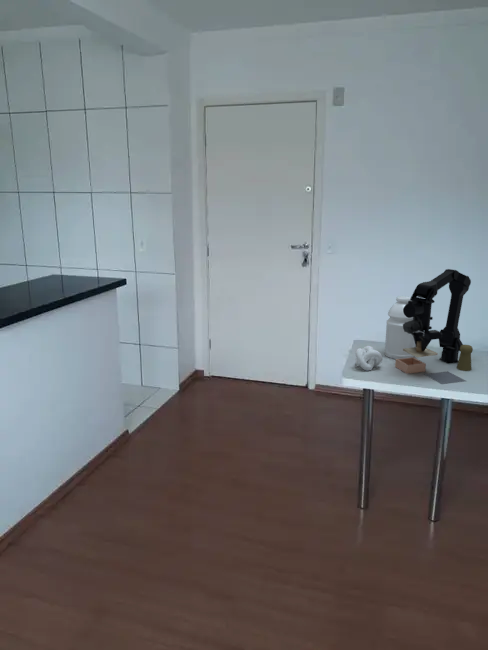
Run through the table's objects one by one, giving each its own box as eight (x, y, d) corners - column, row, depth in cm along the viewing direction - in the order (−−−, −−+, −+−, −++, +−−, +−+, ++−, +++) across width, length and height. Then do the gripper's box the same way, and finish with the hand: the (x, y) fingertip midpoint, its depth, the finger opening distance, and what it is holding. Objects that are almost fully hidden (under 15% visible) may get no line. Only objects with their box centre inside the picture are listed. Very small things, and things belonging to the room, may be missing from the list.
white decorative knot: (370, 374, 221) (372, 354, 219) (346, 368, 229) (347, 348, 227) (384, 368, 229) (385, 348, 226) (360, 362, 237) (361, 343, 234)
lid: (422, 348, 227) (423, 337, 226) (437, 355, 218) (438, 344, 217) (402, 350, 224) (403, 339, 223) (417, 357, 215) (418, 346, 214)
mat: (447, 372, 223) (447, 371, 223) (466, 382, 212) (466, 381, 212) (423, 375, 220) (423, 374, 220) (441, 385, 209) (441, 384, 209)
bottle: (378, 353, 248) (381, 296, 241) (399, 349, 255) (404, 293, 247) (399, 362, 236) (404, 301, 229) (421, 357, 243) (426, 298, 235)
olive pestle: (464, 372, 223) (467, 348, 220) (453, 368, 228) (455, 344, 225) (474, 370, 225) (477, 346, 223) (463, 366, 231) (465, 342, 228)
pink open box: (412, 365, 231) (413, 357, 230) (425, 372, 223) (425, 363, 222) (395, 367, 229) (395, 359, 228) (406, 374, 221) (407, 365, 220)
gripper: (393, 310, 223) (391, 345, 227) (421, 321, 206) (417, 358, 210) (415, 308, 226) (412, 343, 230) (444, 318, 209) (440, 355, 213)
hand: (420, 349), depth 221 cm, fingers closed on lid, 3 cm apart
